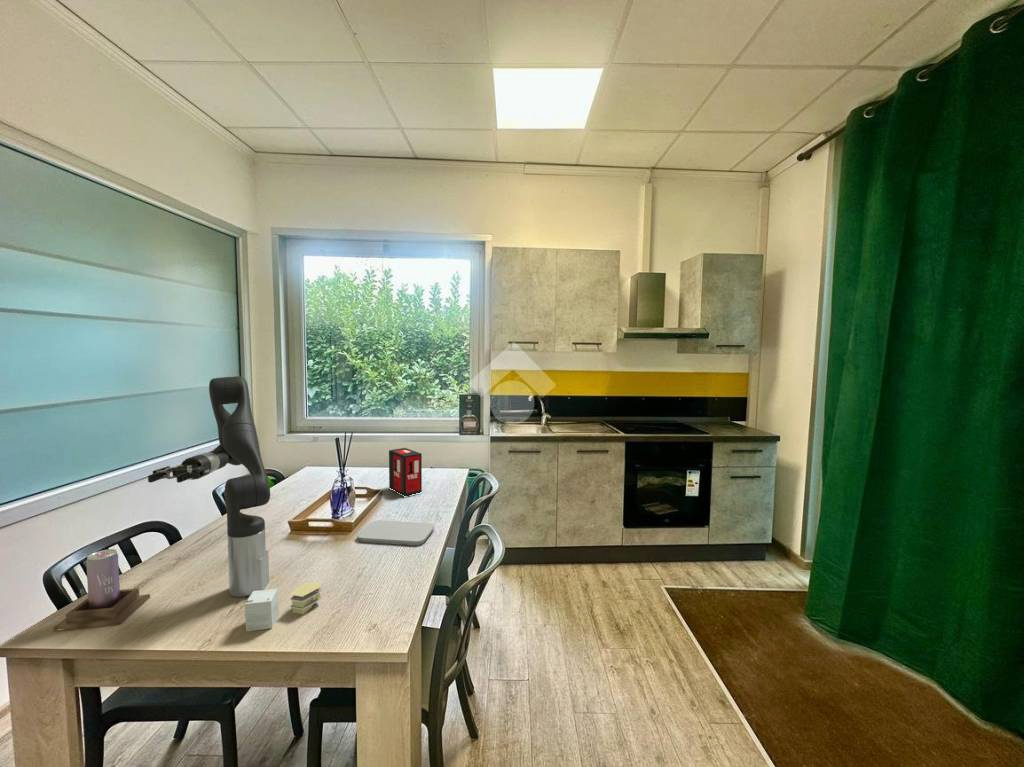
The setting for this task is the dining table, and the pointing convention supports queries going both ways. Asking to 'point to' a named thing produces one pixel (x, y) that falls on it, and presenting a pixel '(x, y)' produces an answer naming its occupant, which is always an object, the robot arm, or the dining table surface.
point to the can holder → (103, 612)
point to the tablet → (396, 532)
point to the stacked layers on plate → (305, 597)
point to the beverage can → (103, 579)
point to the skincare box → (261, 610)
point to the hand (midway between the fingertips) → (163, 479)
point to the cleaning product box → (405, 471)
